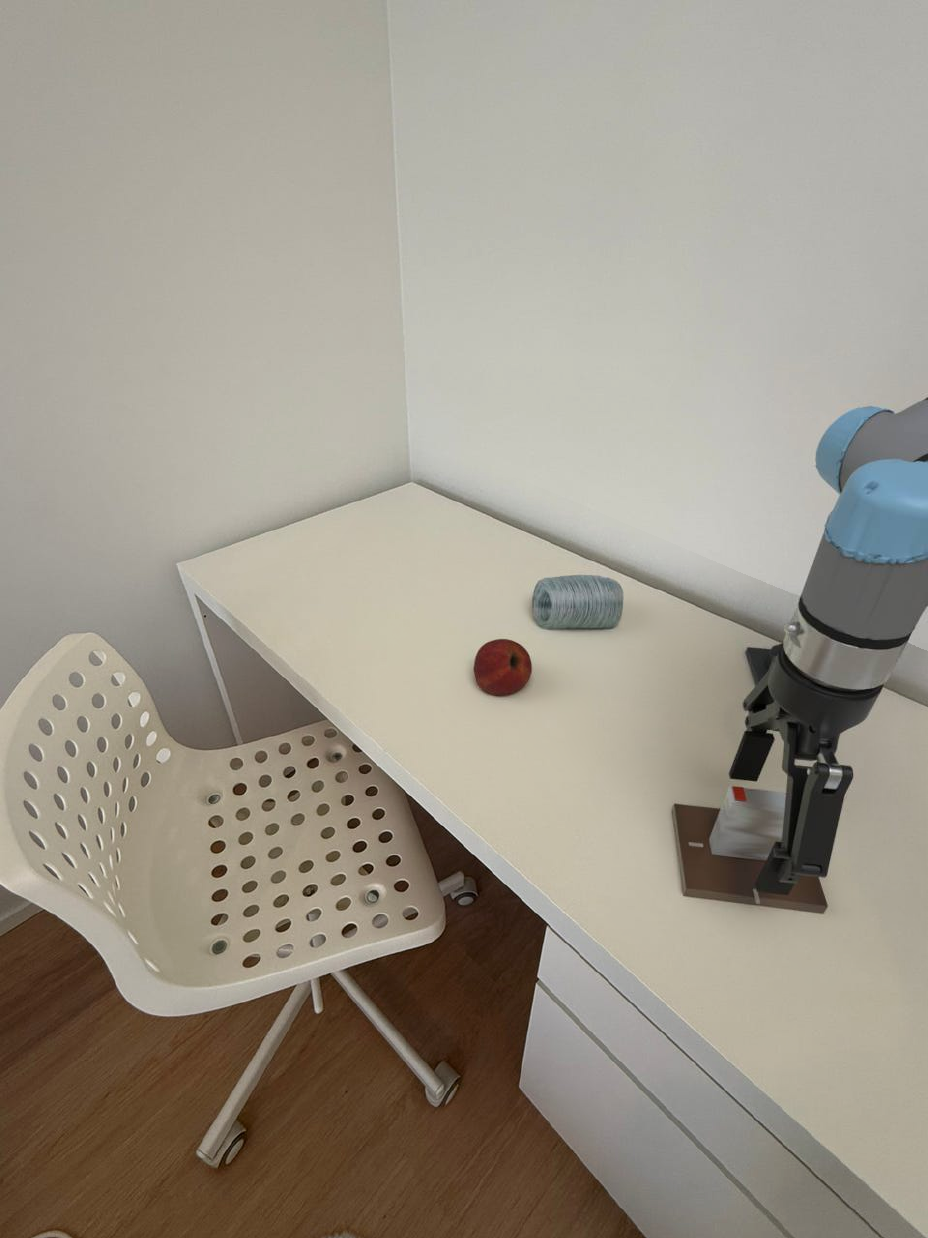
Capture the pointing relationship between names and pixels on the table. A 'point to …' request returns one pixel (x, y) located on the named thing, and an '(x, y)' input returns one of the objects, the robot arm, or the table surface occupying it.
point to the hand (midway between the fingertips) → (755, 829)
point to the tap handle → (748, 823)
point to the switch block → (761, 660)
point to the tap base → (730, 868)
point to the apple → (502, 667)
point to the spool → (577, 602)
